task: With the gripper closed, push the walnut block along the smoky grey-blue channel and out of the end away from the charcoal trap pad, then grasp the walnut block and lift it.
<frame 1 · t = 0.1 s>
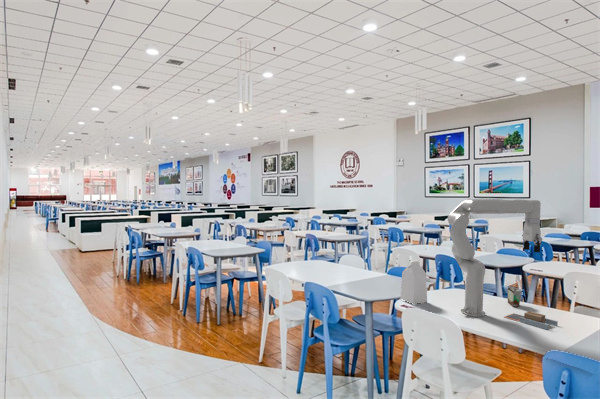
hand: (531, 250, 222), 37 cm above the table, tool pointing down, fingers open, 9 cm apart
milk: (413, 301, 247), on the table
food container: (515, 305, 241), on the table
walnut block: (534, 323, 209), on the table
channel: (538, 323, 208), on the table
trap pad: (515, 317, 218), on the table
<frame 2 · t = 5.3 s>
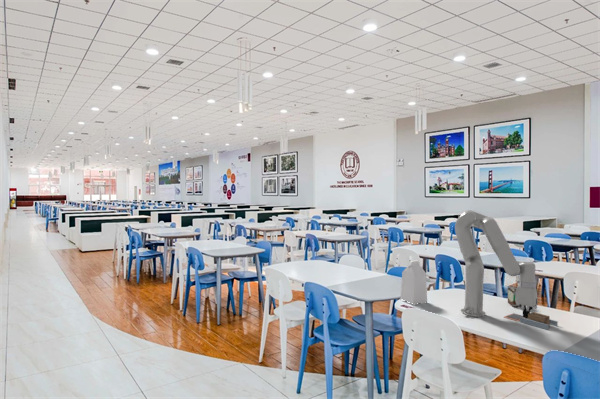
hand: (526, 317, 213), 2 cm above the table, tool pointing down, fingers closed
walnut block: (538, 324, 208), on the table
everything else where it was.
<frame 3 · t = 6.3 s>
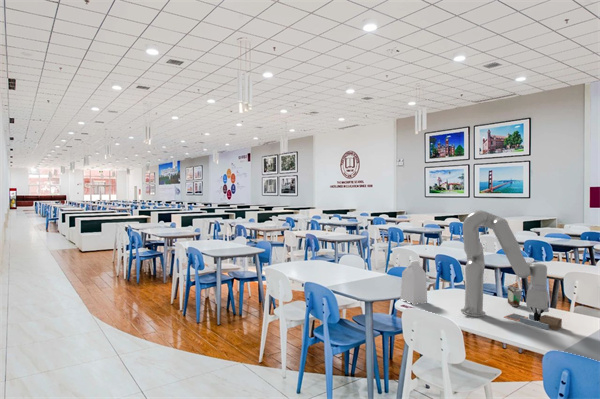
hand: (537, 320, 208), 2 cm above the table, tool pointing down, fingers closed
walnut block: (550, 327, 203), on the table, touching gripper
everything else where it was.
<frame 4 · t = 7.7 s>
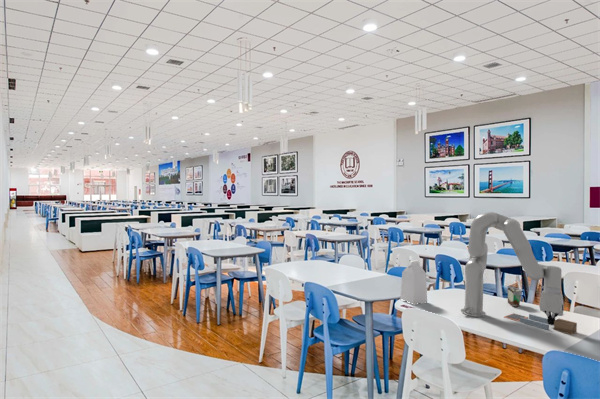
hand: (551, 324, 202), 2 cm above the table, tool pointing down, fingers closed
walnut block: (565, 331, 198), on the table, touching gripper
everything else where it was.
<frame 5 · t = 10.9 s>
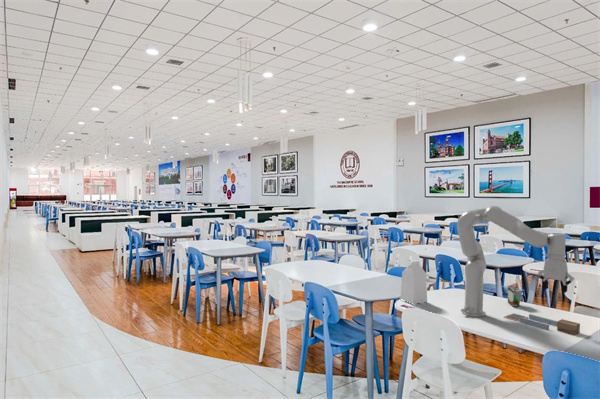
hand: (555, 290, 201), 20 cm above the table, tool pointing down, fingers open, 8 cm apart
walnut block: (568, 332, 197), on the table
everything else where it was.
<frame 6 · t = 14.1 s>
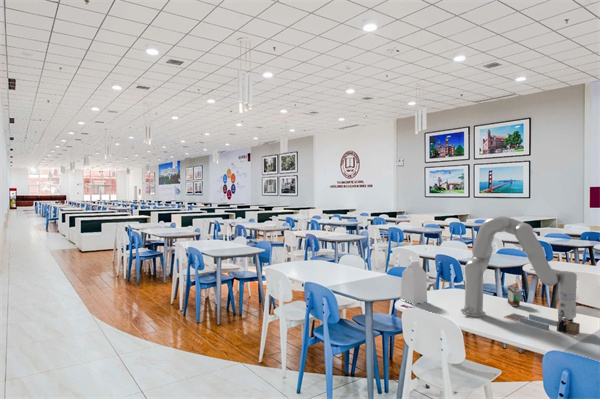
hand: (565, 329, 197), 1 cm above the table, tool pointing down, fingers open, 7 cm apart
walnut block: (567, 332, 197), on the table, touching gripper
everything else where it was.
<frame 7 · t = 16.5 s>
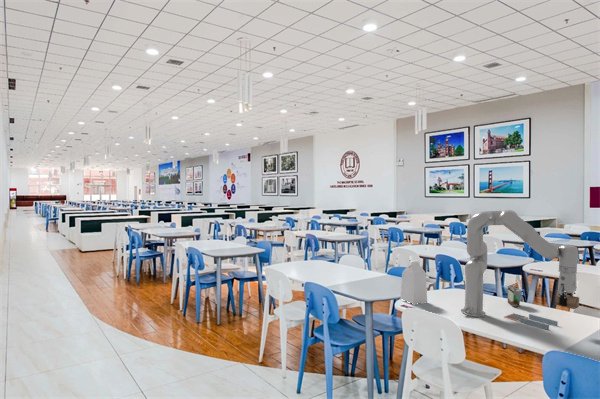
hand: (565, 304, 197), 14 cm above the table, tool pointing down, fingers closed on walnut block, 6 cm apart
walnut block: (567, 306, 196), point 13 cm above the table, touching gripper
everything else where it was.
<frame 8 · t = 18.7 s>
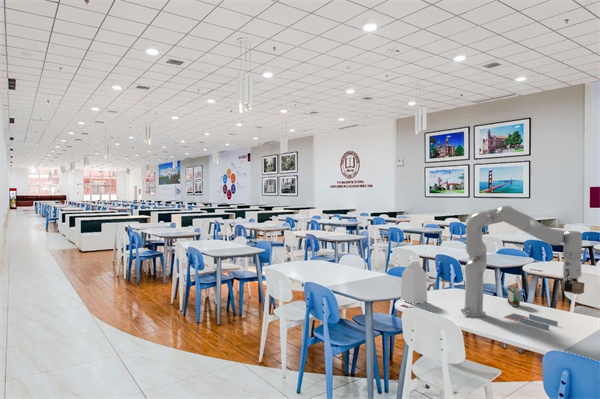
hand: (570, 289, 197), 21 cm above the table, tool pointing down, fingers closed on walnut block, 6 cm apart
walnut block: (572, 291, 196), point 21 cm above the table, touching gripper
everything else where it was.
at the end: the gripper is holding walnut block; walnut block inside the target area (1.1 cm from its centre), point 20.7 cm above the table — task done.
